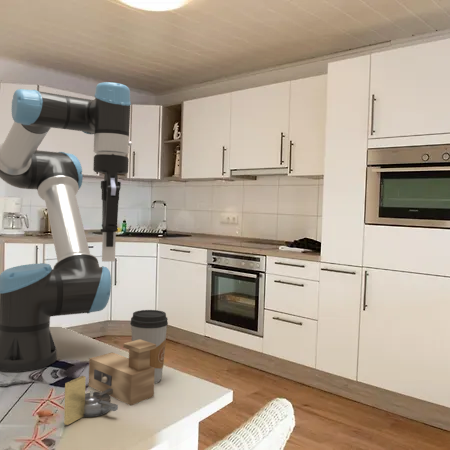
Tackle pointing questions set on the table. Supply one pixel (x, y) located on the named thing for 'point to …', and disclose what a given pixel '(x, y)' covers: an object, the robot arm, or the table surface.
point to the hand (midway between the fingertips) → (108, 260)
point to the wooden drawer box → (125, 373)
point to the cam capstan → (85, 401)
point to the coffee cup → (151, 335)
